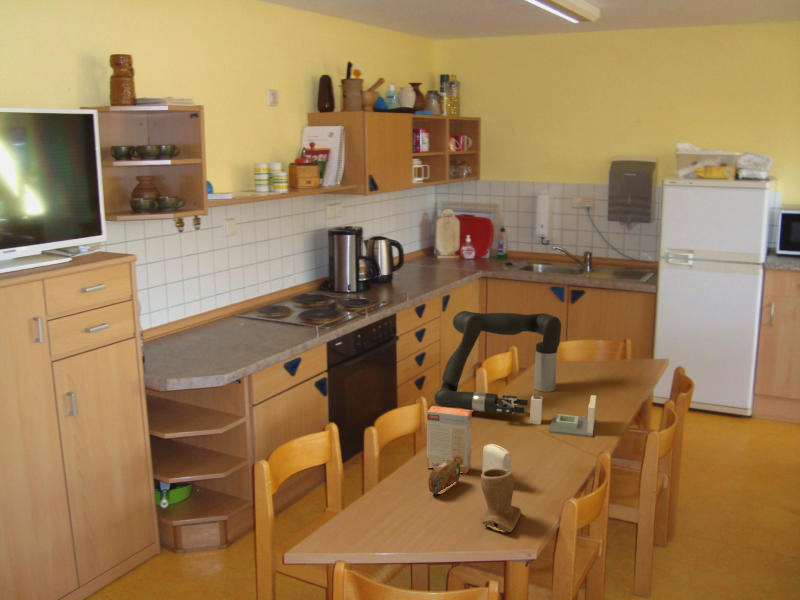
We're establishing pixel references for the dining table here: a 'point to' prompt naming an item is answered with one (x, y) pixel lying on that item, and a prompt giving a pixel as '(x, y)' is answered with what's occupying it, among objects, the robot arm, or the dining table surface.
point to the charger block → (536, 409)
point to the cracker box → (449, 437)
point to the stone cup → (499, 499)
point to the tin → (444, 476)
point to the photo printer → (496, 457)
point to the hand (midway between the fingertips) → (526, 406)
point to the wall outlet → (575, 422)
